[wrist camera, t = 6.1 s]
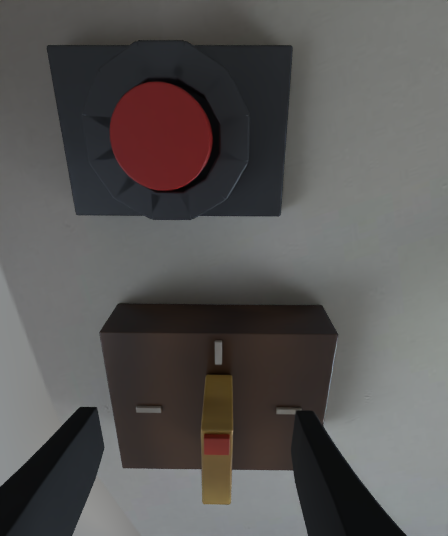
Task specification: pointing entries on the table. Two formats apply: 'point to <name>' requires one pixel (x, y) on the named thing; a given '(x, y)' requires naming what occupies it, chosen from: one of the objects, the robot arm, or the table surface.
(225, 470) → the yellow rectangular block
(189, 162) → the bell button
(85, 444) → the robot arm
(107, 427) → the table surface
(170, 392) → the plate
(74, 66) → the dark grey button mount
